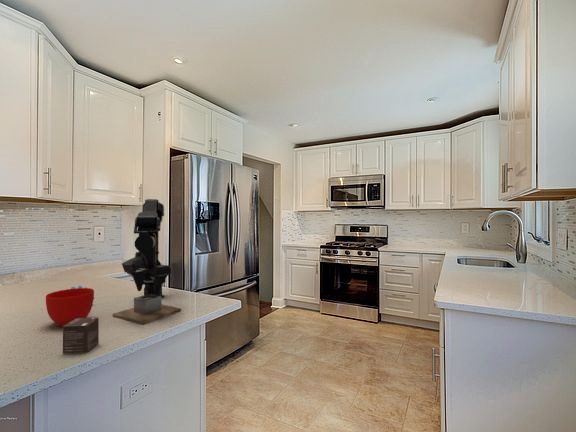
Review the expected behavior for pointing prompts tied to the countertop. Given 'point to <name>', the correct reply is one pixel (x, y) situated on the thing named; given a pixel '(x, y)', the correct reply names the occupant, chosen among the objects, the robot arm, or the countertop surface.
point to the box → (80, 335)
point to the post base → (142, 318)
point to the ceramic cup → (69, 304)
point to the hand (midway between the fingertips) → (147, 292)
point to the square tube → (147, 304)
